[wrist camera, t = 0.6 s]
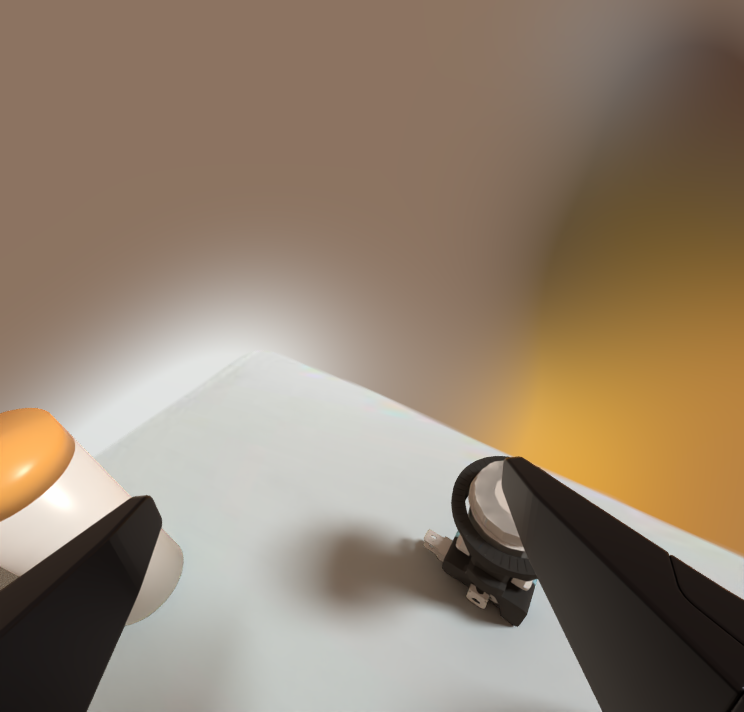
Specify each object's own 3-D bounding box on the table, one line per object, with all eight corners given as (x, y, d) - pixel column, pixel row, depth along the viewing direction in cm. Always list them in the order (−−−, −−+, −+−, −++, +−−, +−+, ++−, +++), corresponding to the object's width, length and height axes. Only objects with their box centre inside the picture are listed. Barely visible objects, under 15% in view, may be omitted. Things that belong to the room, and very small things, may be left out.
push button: (405, 580, 21) (404, 497, 15) (443, 510, 25) (456, 416, 18) (515, 660, 18) (573, 597, 12) (542, 567, 21) (598, 478, 15)
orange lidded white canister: (152, 633, 20) (-36, 524, 12) (78, 618, 21) (-149, 507, 12) (198, 543, 24) (82, 412, 15) (134, 533, 25) (-10, 404, 16)
